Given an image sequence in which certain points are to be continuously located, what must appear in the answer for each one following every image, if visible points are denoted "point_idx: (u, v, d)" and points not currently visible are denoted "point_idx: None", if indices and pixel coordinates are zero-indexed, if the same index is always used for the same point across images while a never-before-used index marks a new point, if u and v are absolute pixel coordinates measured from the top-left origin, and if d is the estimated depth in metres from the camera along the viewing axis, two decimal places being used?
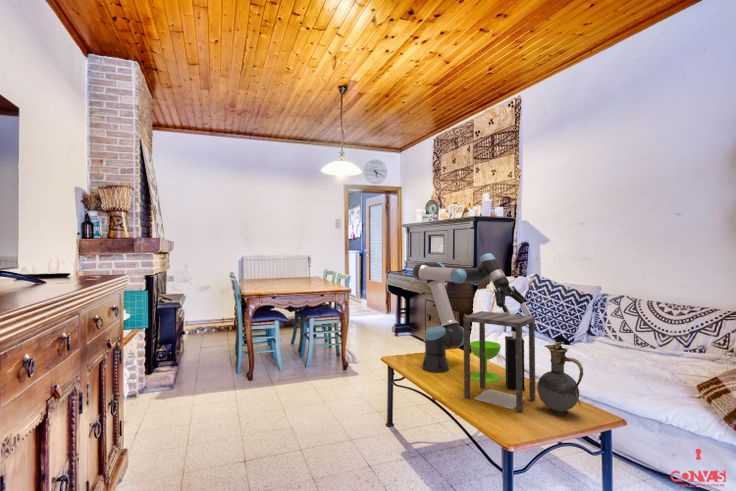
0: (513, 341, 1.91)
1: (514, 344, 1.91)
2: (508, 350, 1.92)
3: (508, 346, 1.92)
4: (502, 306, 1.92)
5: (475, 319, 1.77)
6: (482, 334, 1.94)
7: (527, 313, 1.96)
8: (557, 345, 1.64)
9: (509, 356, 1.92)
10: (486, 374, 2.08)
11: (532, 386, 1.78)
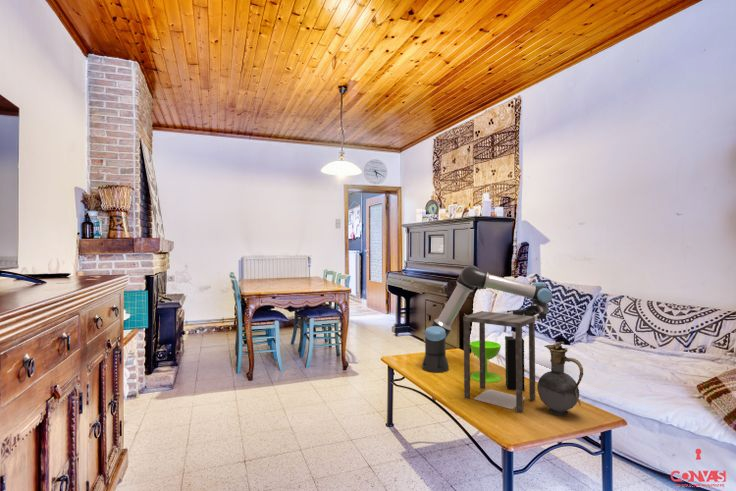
0: (513, 341, 1.91)
1: (514, 344, 1.91)
2: (508, 350, 1.92)
3: (508, 346, 1.92)
4: (541, 317, 2.01)
5: (475, 319, 1.77)
6: (482, 334, 1.94)
7: None
8: (557, 345, 1.64)
9: (509, 356, 1.92)
10: (486, 374, 2.08)
11: (532, 386, 1.78)
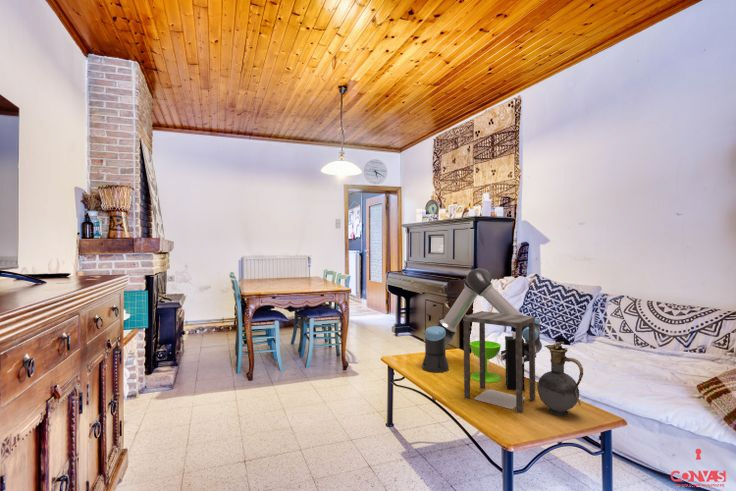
0: (513, 341, 1.91)
1: (514, 344, 1.91)
2: (508, 350, 1.92)
3: (508, 346, 1.92)
4: (528, 359, 1.92)
5: (475, 319, 1.77)
6: (482, 334, 1.94)
7: (502, 357, 1.95)
8: (557, 345, 1.64)
9: (509, 356, 1.92)
10: (486, 374, 2.08)
11: (532, 386, 1.78)
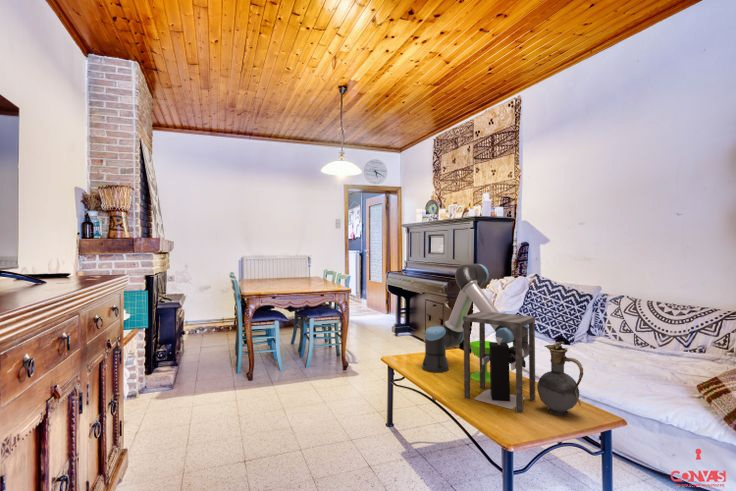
0: (497, 348, 1.77)
1: (498, 351, 1.77)
2: (492, 357, 1.77)
3: (492, 353, 1.77)
4: None
5: (475, 319, 1.77)
6: (482, 334, 1.94)
7: (484, 361, 1.83)
8: (557, 345, 1.64)
9: (493, 364, 1.77)
10: (486, 374, 2.08)
11: (532, 386, 1.78)
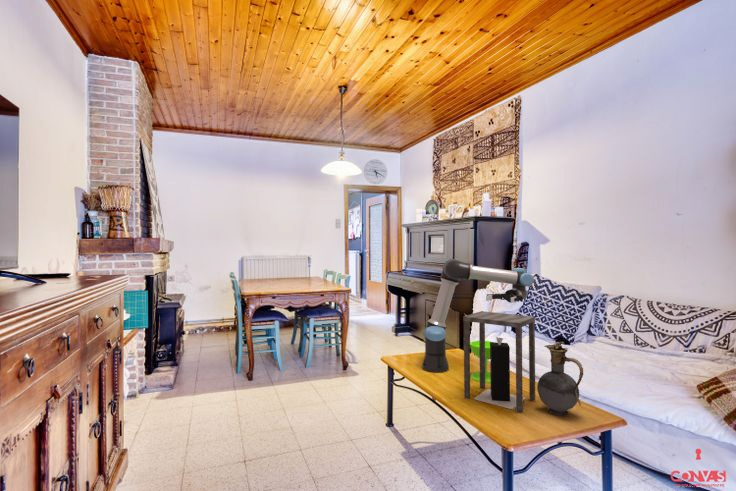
0: (498, 348, 1.77)
1: (499, 351, 1.77)
2: (492, 357, 1.77)
3: (492, 353, 1.77)
4: (518, 299, 2.11)
5: (475, 319, 1.77)
6: (482, 334, 1.94)
7: (488, 298, 2.16)
8: (557, 345, 1.64)
9: (493, 364, 1.77)
10: (486, 374, 2.08)
11: (532, 386, 1.78)
